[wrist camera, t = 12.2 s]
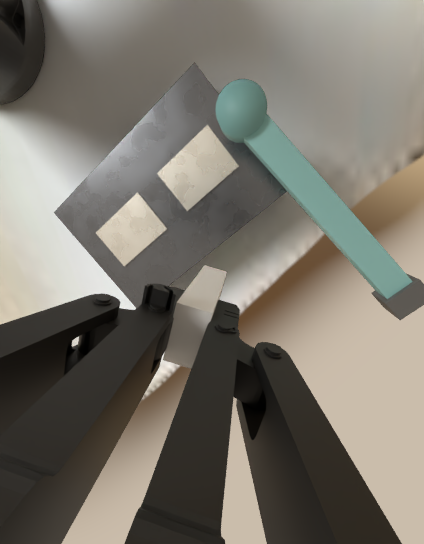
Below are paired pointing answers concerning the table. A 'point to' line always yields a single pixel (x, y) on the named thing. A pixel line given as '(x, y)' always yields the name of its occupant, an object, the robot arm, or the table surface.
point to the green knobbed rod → (315, 195)
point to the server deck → (168, 191)
